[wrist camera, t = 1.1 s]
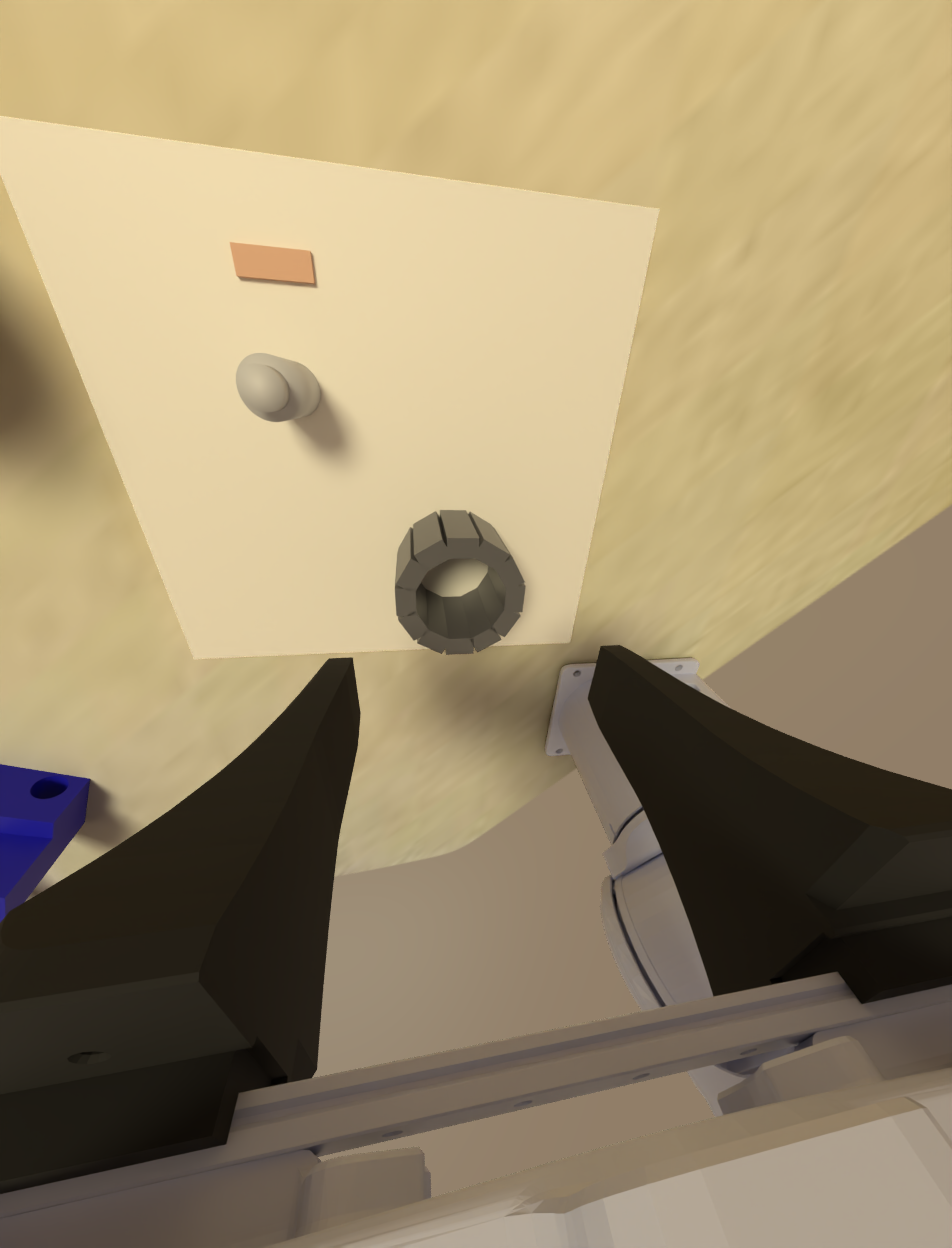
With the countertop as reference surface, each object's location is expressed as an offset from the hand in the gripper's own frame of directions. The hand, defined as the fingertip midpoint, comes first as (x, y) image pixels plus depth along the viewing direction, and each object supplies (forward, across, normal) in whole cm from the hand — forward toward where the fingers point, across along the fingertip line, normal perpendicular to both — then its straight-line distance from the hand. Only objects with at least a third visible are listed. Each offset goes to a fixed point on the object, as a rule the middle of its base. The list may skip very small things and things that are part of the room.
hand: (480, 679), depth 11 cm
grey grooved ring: (+9, 0, 0) cm, 9 cm away
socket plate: (+10, +3, -4) cm, 11 cm away
